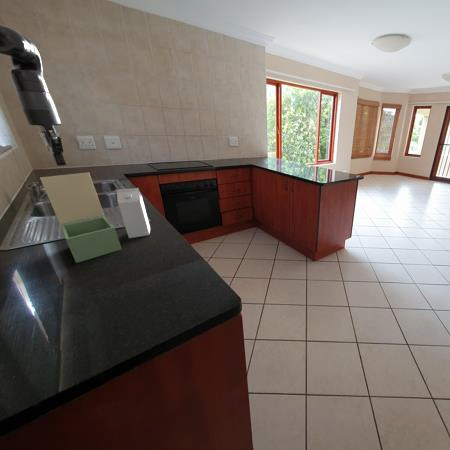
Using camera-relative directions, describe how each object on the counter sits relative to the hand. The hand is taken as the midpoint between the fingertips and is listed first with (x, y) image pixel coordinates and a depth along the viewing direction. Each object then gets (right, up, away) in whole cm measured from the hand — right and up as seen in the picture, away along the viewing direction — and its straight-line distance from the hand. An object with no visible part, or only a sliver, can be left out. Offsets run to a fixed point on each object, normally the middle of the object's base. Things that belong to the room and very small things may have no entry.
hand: (61, 165), depth 80 cm
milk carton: (+15, -24, +18) cm, 33 cm away
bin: (+6, -29, +6) cm, 30 cm away
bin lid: (0, -11, +4) cm, 11 cm away
